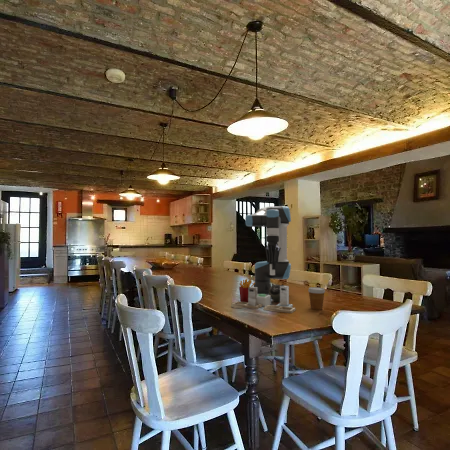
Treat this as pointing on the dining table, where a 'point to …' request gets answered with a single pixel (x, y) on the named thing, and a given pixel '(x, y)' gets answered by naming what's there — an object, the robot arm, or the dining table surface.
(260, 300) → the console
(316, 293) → the disposable coffee cup
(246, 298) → the french fries
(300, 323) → the dining table surface
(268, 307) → the pallet
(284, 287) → the block
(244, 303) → the pallet
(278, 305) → the tote
